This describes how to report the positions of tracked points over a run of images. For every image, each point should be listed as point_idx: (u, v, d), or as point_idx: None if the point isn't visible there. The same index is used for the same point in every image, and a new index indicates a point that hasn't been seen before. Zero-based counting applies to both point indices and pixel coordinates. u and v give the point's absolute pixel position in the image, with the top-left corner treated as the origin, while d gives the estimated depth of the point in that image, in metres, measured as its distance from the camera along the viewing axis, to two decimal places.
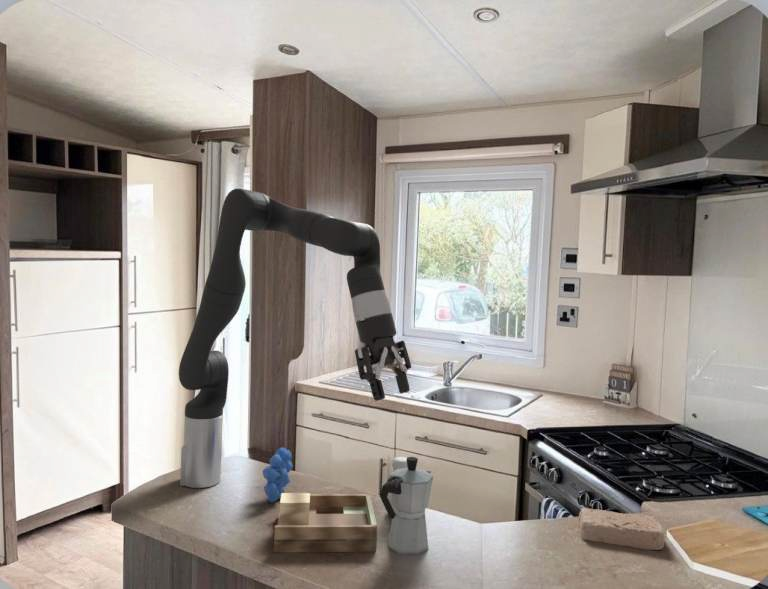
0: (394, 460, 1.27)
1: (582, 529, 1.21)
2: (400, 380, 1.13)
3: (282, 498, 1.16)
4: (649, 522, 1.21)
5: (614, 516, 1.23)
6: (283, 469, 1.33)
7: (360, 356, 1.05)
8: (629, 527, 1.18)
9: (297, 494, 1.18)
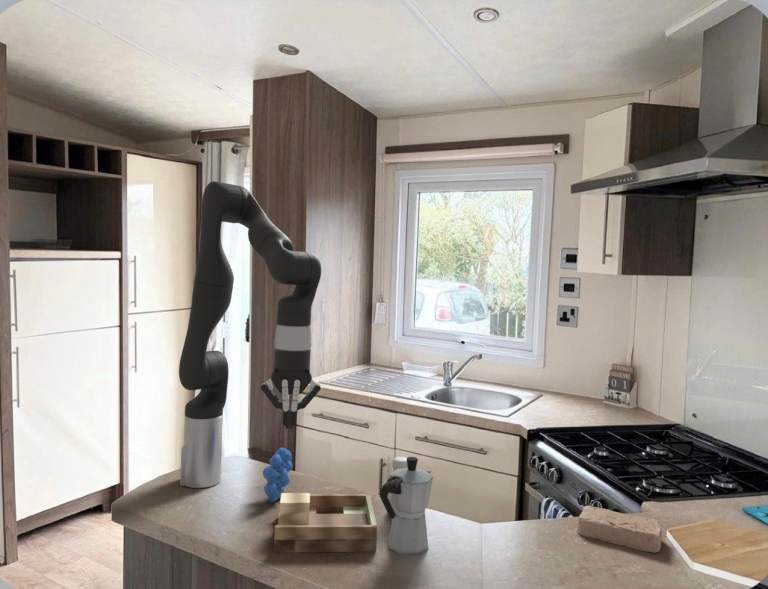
0: (394, 460, 1.27)
1: (578, 524, 1.23)
2: None
3: (282, 498, 1.16)
4: (650, 525, 1.19)
5: (616, 516, 1.24)
6: (283, 469, 1.33)
7: None
8: (625, 526, 1.19)
9: (297, 494, 1.18)
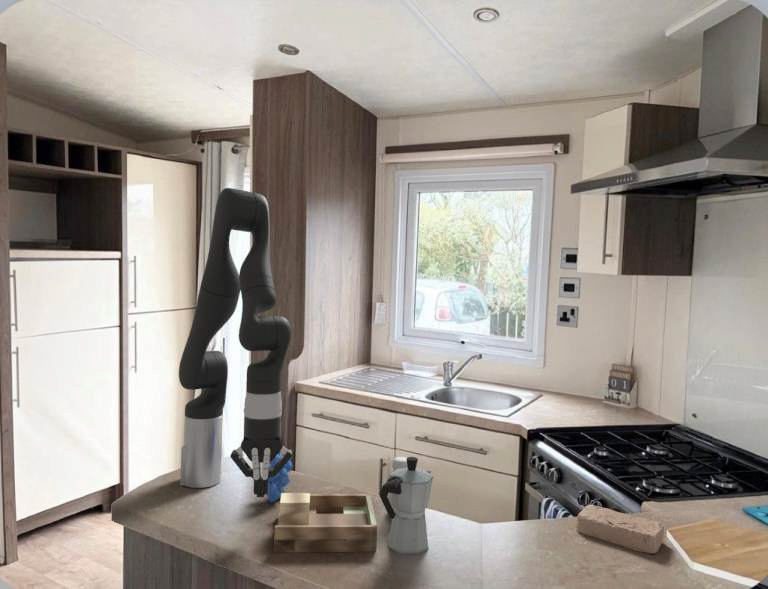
0: (394, 460, 1.27)
1: (577, 522, 1.24)
2: None
3: (282, 498, 1.16)
4: (650, 526, 1.19)
5: (617, 516, 1.24)
6: (283, 469, 1.33)
7: None
8: (622, 526, 1.19)
9: (297, 494, 1.18)
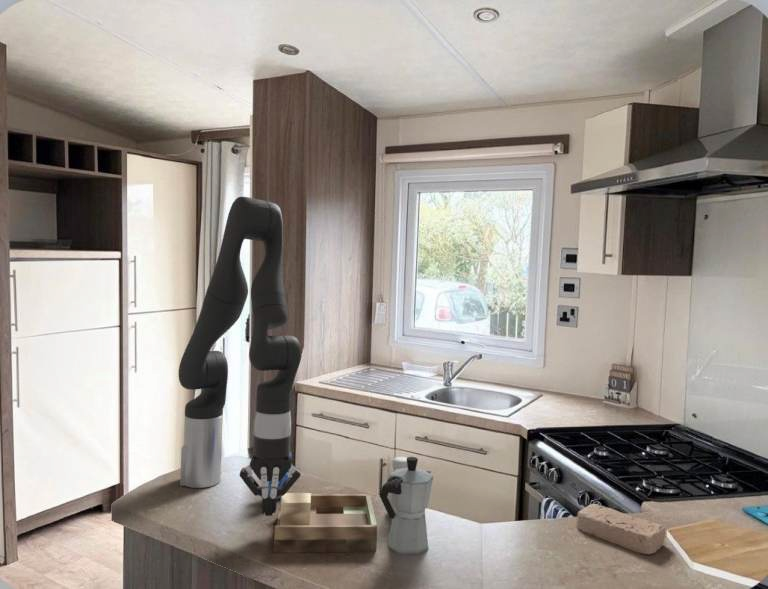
0: (394, 460, 1.27)
1: (577, 519, 1.25)
2: None
3: (283, 498, 1.16)
4: (649, 528, 1.18)
5: (618, 516, 1.24)
6: None
7: None
8: (619, 525, 1.19)
9: (298, 494, 1.18)
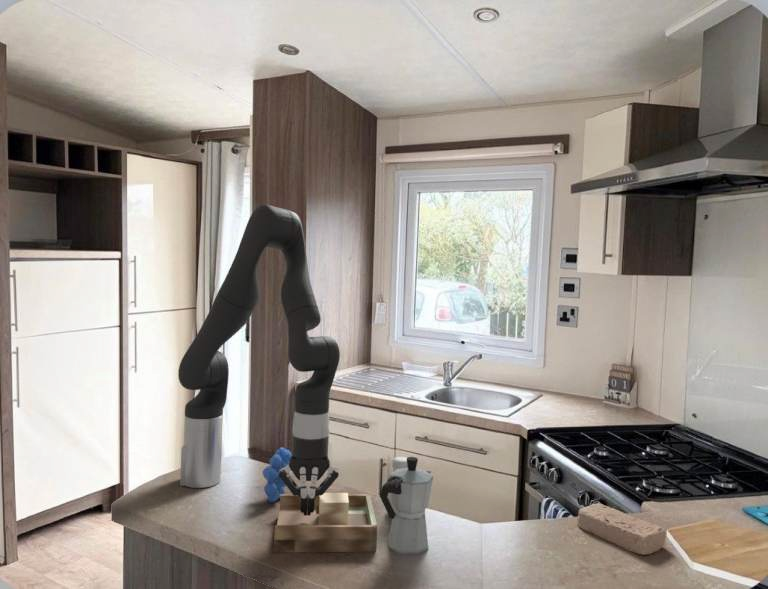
0: (394, 460, 1.27)
1: (578, 516, 1.27)
2: None
3: (321, 498, 1.17)
4: (647, 529, 1.18)
5: (620, 516, 1.24)
6: None
7: None
8: (617, 525, 1.19)
9: (335, 494, 1.19)
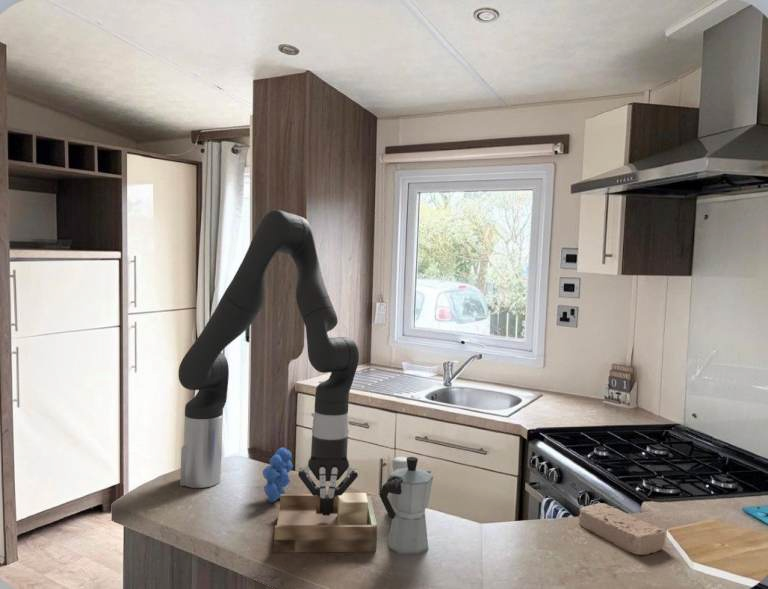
0: (394, 460, 1.27)
1: None
2: None
3: (340, 498, 1.17)
4: (645, 530, 1.17)
5: (621, 517, 1.24)
6: (283, 469, 1.33)
7: None
8: (615, 524, 1.20)
9: (354, 494, 1.20)
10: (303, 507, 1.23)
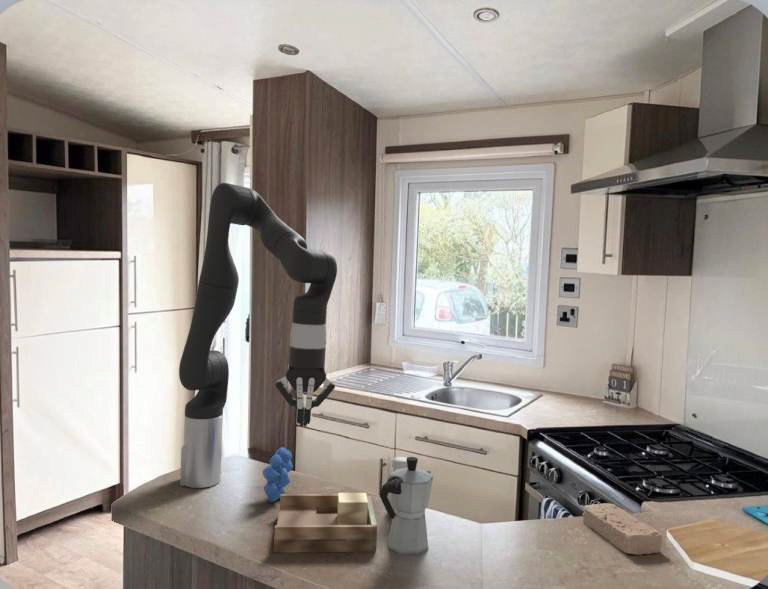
0: (394, 460, 1.27)
1: (584, 512, 1.29)
2: None
3: (340, 498, 1.17)
4: (641, 530, 1.17)
5: (623, 517, 1.23)
6: (283, 469, 1.33)
7: None
8: (611, 522, 1.20)
9: (354, 494, 1.20)
10: (303, 507, 1.23)
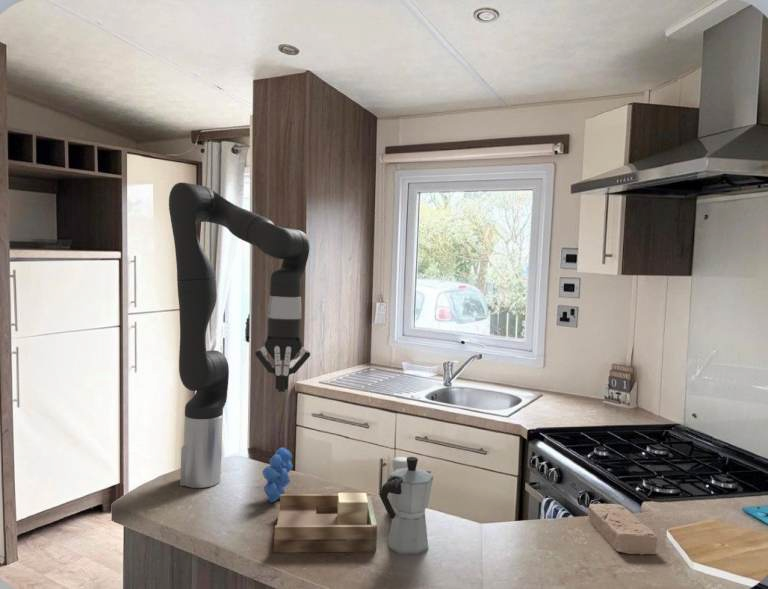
0: (394, 460, 1.27)
1: None
2: None
3: (340, 498, 1.17)
4: (636, 531, 1.16)
5: (625, 517, 1.23)
6: (283, 469, 1.33)
7: None
8: (609, 521, 1.21)
9: (354, 494, 1.20)
10: (303, 507, 1.23)
